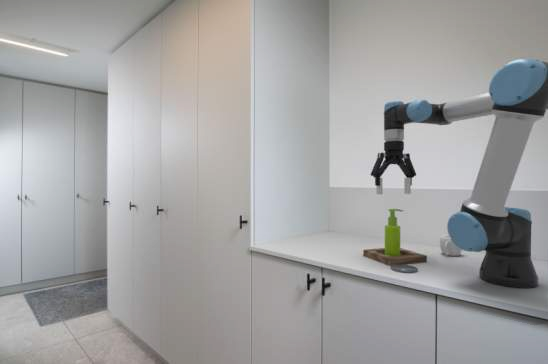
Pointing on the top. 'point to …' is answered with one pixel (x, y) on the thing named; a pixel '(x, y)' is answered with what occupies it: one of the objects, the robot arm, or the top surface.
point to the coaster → (404, 268)
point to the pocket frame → (395, 257)
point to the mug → (449, 246)
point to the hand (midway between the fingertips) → (393, 194)
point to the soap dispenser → (392, 235)
